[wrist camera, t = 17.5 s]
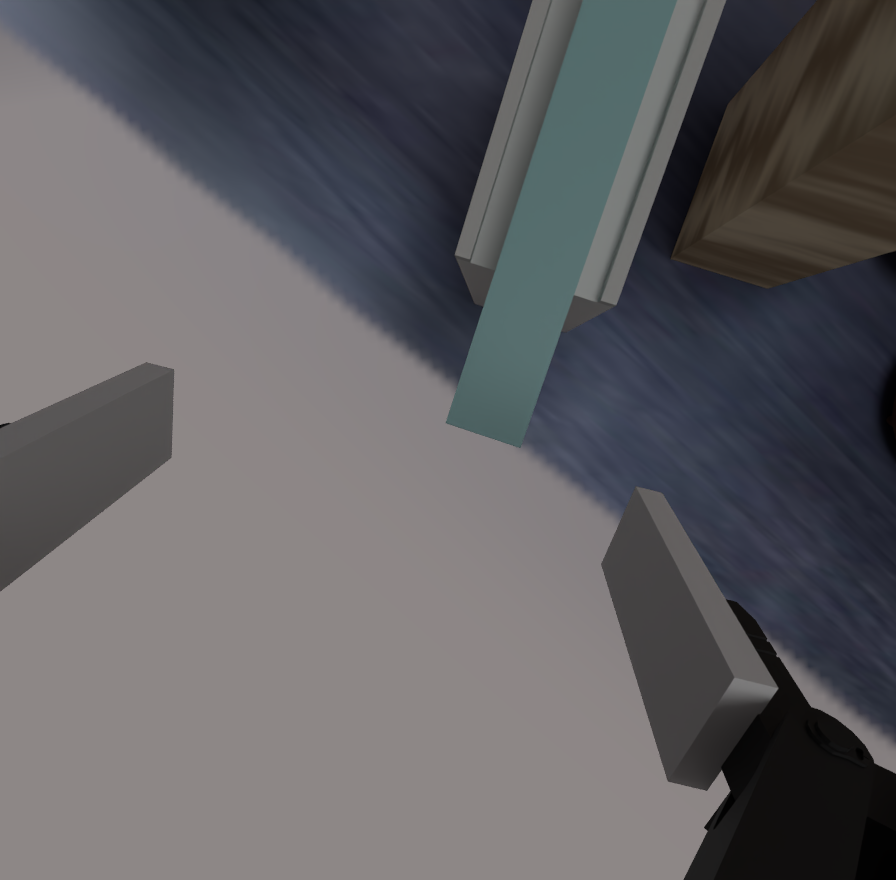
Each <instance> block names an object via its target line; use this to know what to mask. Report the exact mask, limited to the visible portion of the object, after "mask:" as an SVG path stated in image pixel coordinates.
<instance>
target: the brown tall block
mask: <svg viewBox="0 0 896 880" xmlns="http://www.w3.org/2000/svg"><path fill="white" fill-rule="evenodd" d="M893 251H896V0H817V1H816V3H815V4H814V5H813V6H812V7H811V8H810V9H809V11H808V12H807V13H806V14H805V15H804V16H803V18H802V19H801V20H800V21H799V22H798V23H797V25H796V26H795V27H794V28H793V29H792V30H791V32H790V33H789V34H788V35H787V36H786V37H785V38H784V40H783V41H782V42H781V43H780V44H779V45H778V47H777V48H776V49H775V50H774V51H773V52H772V54H771V55H770V56H769V57H768V58H767V59H766V60H765V62H764V63H763V64H762V65H761V66H760V67H759V69H758V70H757V71H756V72H755V73H754V74H753V76H752V77H751V78H750V79H749V80H748V81H747V83H746V84H745V85H744V86H743V87H742V88H741V89H740V91H739V92H738V93H737V94H736V95H735V96H734V98H733V99H732V100H731V101H730V102H729V103H728V105H727V108H726V110H725V113H724V116H723V118H722V121H721V124H720V126H719V129H718V132H717V135H716V137H715V140H714V143H713V145H712V148H711V151H710V153H709V156H708V159H707V162H706V164H705V167H704V170H703V172H702V175H701V178H700V180H699V183H698V186H697V188H696V191H695V194H694V197H693V199H692V202H691V205H690V207H689V210H688V213H687V215H686V218H685V221H684V224H683V226H682V229H681V232H680V234H679V237H678V240H677V242H676V245H675V248H674V250H673V253H672V256H671V259H673V260H676V261H679V262H682V263H686V264H689V265H692V266H695V267H699V268H702V269H705V270H708V271H712V272H715V273H718V274H721V275H725V276H728V277H731V278H735V279H738V280H741V281H744V282H748V283H751V284H754V285H757V286H761V287H764V288H767V289H768V288H771V287H775V286H778V285H781V284H785V283H788V282H791V281H795V280H798V279H802V278H805V277H808V276H812V275H815V274H818V273H822V272H825V271H829V270H832V269H835V268H839V267H842V266H845V265H849V264H852V263H856V262H859V261H862V260H866V259H869V258H872V257H876V256H879V255H883V254H886V253H889V252H893Z"/></svg>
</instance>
